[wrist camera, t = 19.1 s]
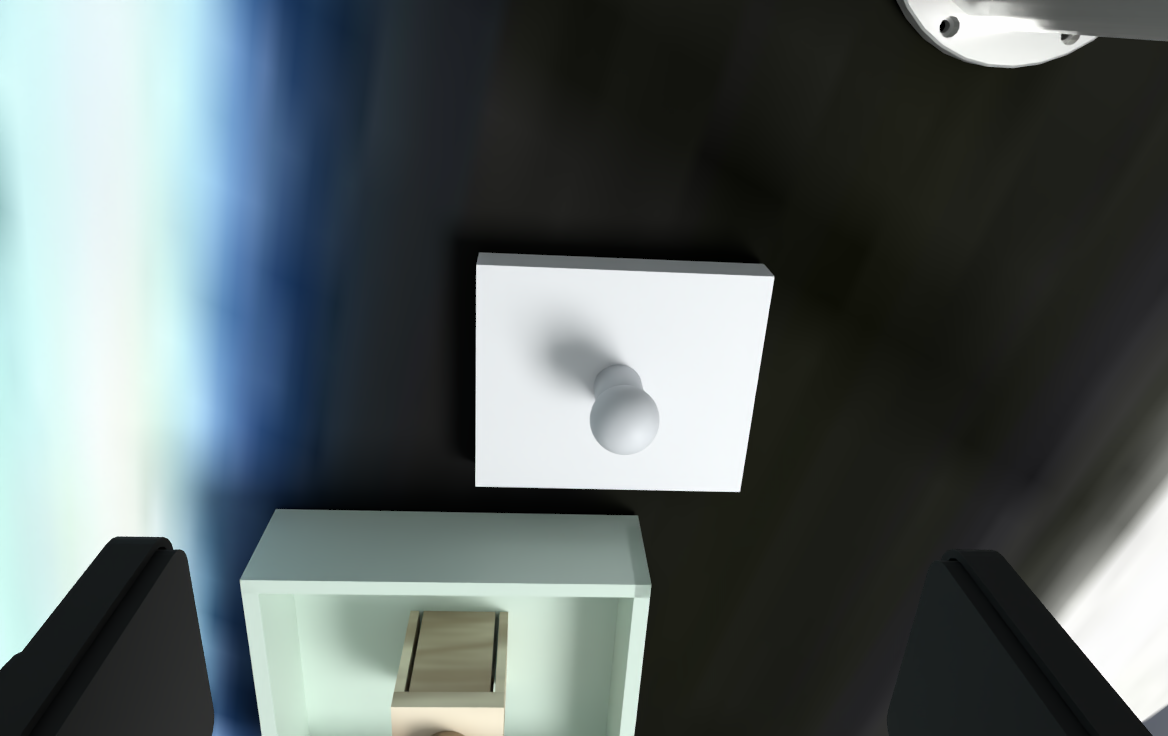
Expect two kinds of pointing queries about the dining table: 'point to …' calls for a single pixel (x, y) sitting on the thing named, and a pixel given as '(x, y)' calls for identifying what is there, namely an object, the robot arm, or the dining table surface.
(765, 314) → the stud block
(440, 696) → the drawer
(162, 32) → the dining table surface
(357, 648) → the bin
